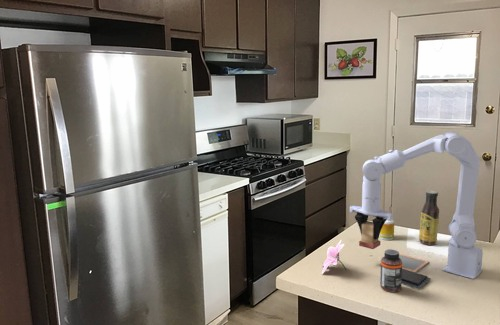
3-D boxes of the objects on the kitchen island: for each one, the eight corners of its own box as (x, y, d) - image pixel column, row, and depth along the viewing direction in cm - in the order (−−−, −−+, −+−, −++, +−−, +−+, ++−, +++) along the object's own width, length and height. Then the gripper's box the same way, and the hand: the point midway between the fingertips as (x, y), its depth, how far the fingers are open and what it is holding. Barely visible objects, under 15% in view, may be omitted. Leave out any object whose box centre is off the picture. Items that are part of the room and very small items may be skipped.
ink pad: (430, 280, 132) (430, 276, 131) (419, 289, 126) (419, 285, 126) (399, 271, 139) (399, 266, 138) (387, 279, 133) (387, 275, 133)
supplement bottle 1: (395, 240, 165) (396, 215, 163) (381, 240, 165) (382, 216, 164) (391, 235, 170) (392, 211, 169) (377, 235, 171) (378, 211, 169)
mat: (428, 262, 144) (429, 261, 144) (414, 273, 137) (414, 272, 136) (397, 254, 152) (397, 252, 152) (382, 264, 144) (382, 262, 144)
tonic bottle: (415, 241, 164) (417, 190, 160) (428, 239, 166) (431, 188, 162) (426, 247, 158) (429, 194, 154) (441, 245, 160) (444, 192, 156)
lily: (331, 262, 149) (318, 240, 147) (362, 256, 142) (349, 232, 140) (321, 286, 140) (307, 262, 138) (354, 281, 133) (339, 256, 131)
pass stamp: (380, 245, 144) (381, 223, 142) (372, 249, 140) (373, 227, 139) (366, 241, 147) (367, 220, 146) (359, 245, 144) (359, 223, 142)
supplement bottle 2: (384, 281, 132) (386, 246, 130) (404, 287, 128) (406, 250, 126) (376, 288, 127) (377, 252, 125) (396, 294, 123) (398, 257, 121)
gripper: (398, 198, 138) (396, 238, 141) (357, 191, 148) (356, 229, 151) (387, 202, 133) (386, 244, 136) (346, 195, 143) (345, 234, 146)
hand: (370, 236), depth 143 cm, fingers closed on pass stamp, 4 cm apart
